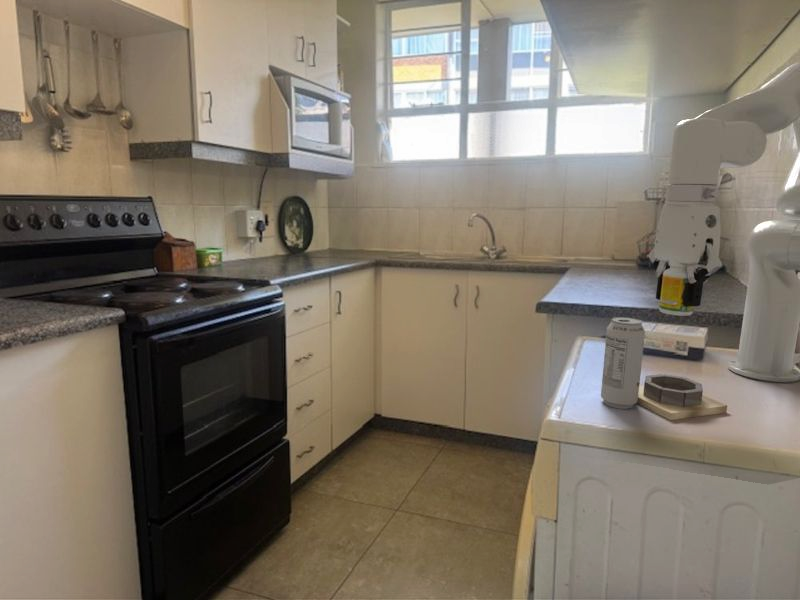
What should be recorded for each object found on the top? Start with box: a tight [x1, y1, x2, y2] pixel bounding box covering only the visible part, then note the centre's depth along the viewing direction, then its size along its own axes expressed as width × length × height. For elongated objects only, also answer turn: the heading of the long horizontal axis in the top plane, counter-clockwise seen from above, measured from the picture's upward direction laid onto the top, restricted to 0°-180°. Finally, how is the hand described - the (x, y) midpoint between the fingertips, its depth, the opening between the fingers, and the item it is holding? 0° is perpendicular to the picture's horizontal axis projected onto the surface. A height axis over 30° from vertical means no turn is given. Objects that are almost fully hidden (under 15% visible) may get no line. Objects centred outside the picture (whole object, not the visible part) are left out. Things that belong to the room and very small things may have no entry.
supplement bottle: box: [658, 259, 695, 317], centre depth 94 cm, size 5×5×10 cm
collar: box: [636, 373, 728, 421], centre depth 96 cm, size 12×12×4 cm
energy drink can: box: [600, 316, 646, 410], centre depth 94 cm, size 6×6×15 cm
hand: (677, 301), depth 94 cm, fingers closed on supplement bottle, 5 cm apart
